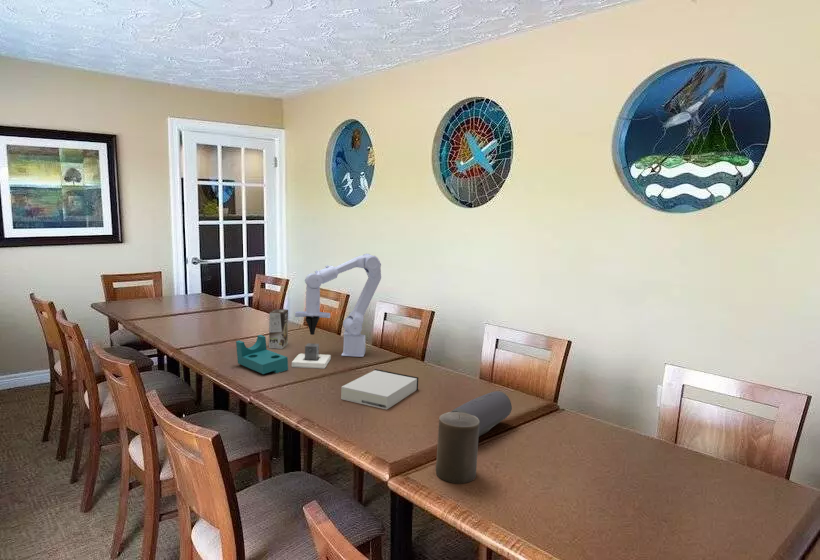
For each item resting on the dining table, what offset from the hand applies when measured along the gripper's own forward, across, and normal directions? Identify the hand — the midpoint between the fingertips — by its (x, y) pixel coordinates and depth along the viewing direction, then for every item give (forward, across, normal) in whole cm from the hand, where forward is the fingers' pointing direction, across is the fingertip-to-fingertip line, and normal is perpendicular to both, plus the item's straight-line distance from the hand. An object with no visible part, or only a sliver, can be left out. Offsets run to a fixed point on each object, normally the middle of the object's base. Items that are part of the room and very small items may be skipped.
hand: (312, 334), depth 220 cm
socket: (+10, +2, -10) cm, 14 cm away
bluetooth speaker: (+10, +61, -71) cm, 94 cm away
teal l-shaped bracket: (+10, -16, -18) cm, 26 cm away
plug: (+9, +2, -10) cm, 13 cm away
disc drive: (+10, +31, -43) cm, 54 cm away
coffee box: (+10, -18, +15) cm, 25 cm away
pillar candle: (+10, +53, -96) cm, 110 cm away
